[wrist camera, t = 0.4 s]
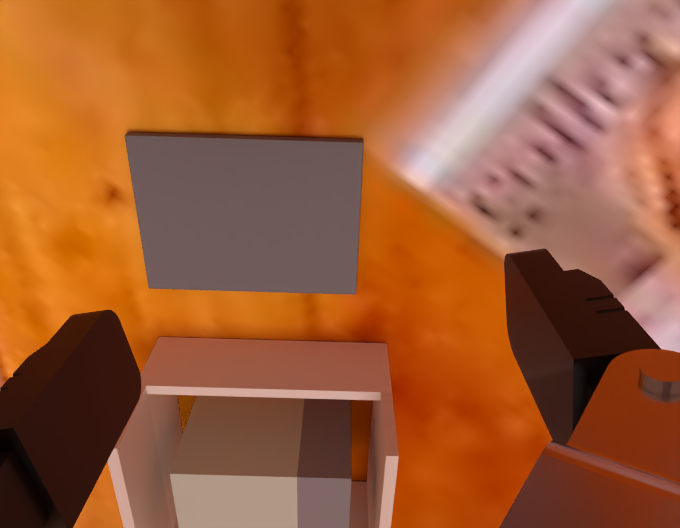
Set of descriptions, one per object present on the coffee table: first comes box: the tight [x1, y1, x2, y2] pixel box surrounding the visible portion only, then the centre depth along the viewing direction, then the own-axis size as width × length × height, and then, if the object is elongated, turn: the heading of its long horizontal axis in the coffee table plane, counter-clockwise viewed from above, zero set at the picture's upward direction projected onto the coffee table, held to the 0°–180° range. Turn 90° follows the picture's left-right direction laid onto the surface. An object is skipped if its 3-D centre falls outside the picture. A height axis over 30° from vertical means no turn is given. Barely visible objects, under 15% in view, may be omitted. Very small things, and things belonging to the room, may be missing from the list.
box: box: [170, 395, 351, 528], centre depth 35 cm, size 5×10×7 cm, turn 88°
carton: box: [108, 337, 399, 528], centre depth 34 cm, size 13×14×9 cm
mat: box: [125, 132, 363, 294], centre depth 31 cm, size 9×12×1 cm
